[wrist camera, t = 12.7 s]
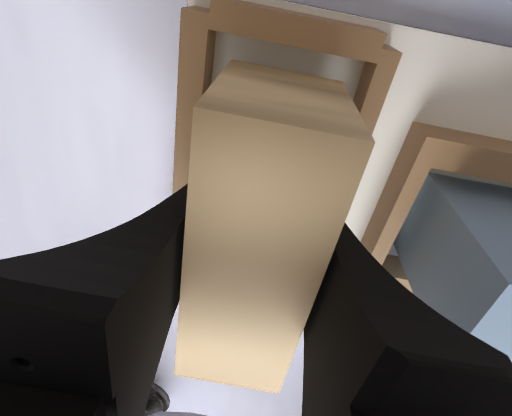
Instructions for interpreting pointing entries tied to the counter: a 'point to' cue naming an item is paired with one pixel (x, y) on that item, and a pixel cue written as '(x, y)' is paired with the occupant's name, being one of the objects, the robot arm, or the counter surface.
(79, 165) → the counter surface
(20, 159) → the counter surface
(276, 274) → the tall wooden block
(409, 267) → the light blue block
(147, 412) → the salt shaker
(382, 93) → the jig
